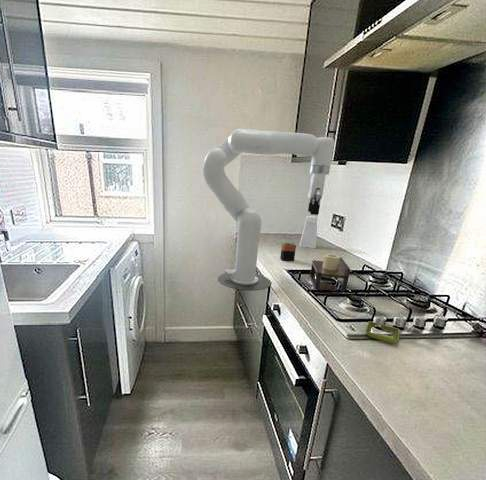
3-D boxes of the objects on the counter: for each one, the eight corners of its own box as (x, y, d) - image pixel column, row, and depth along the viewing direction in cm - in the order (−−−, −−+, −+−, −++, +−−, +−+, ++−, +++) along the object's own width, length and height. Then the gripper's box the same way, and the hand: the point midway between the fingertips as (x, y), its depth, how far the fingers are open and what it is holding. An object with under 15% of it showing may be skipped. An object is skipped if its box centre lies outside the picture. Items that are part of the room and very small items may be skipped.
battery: (279, 258, 171) (282, 241, 168) (291, 259, 172) (293, 241, 169) (282, 260, 167) (284, 243, 164) (294, 261, 168) (296, 243, 165)
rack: (314, 291, 125) (318, 265, 122) (309, 276, 144) (313, 254, 140) (345, 294, 123) (350, 269, 120) (336, 279, 142) (340, 256, 138)
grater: (299, 243, 213) (303, 215, 207) (315, 245, 211) (320, 216, 204) (299, 246, 204) (304, 217, 197) (316, 248, 201) (321, 218, 195)
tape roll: (323, 269, 128) (325, 256, 126) (321, 265, 134) (323, 253, 132) (339, 271, 126) (341, 258, 125) (336, 267, 132) (338, 254, 131)
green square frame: (367, 326, 97) (368, 320, 97) (398, 334, 93) (400, 328, 92) (363, 337, 90) (365, 331, 90) (396, 347, 86) (398, 340, 85)
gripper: (308, 170, 132) (302, 210, 137) (312, 169, 115) (305, 215, 121) (326, 171, 130) (319, 211, 136) (332, 170, 114) (325, 216, 120)
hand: (312, 213), depth 128 cm, fingers open, 9 cm apart
